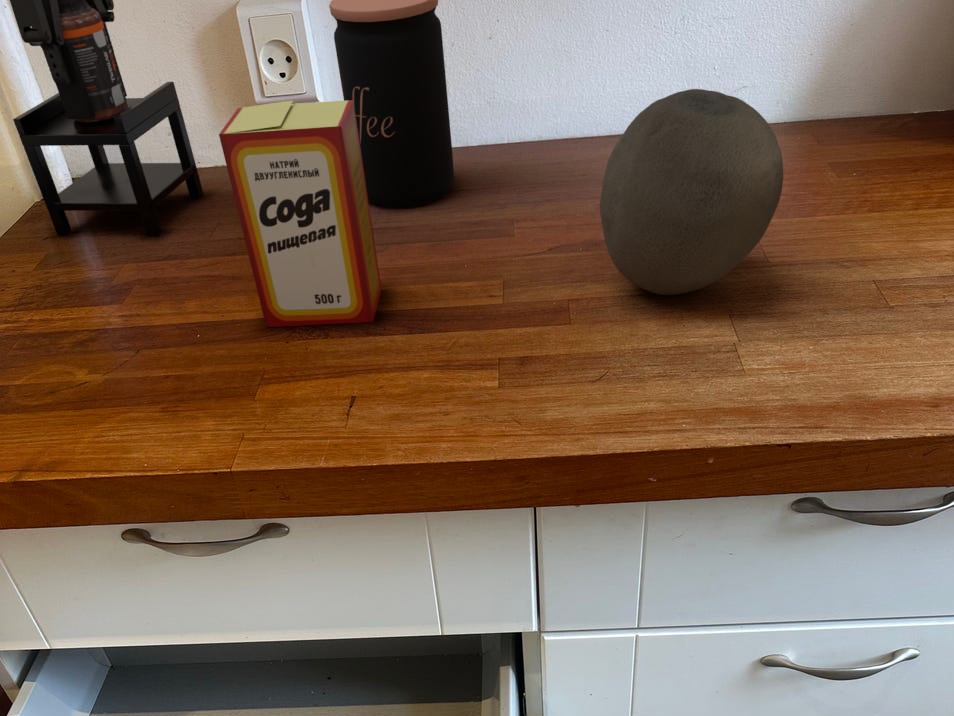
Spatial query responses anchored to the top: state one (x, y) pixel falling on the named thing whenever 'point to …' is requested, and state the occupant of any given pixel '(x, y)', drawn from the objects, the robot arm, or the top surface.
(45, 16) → the robot arm
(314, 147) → the baking soda box
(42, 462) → the top surface
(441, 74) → the coffee jar
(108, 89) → the supplement bottle
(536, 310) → the top surface
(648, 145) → the dark grey oval lump
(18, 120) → the rack
